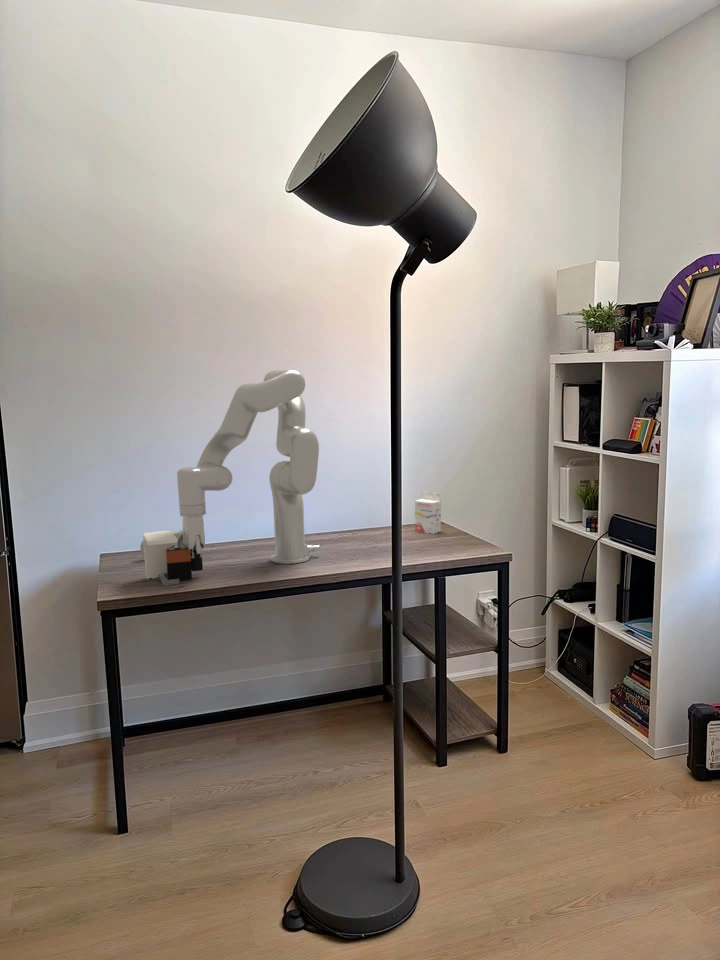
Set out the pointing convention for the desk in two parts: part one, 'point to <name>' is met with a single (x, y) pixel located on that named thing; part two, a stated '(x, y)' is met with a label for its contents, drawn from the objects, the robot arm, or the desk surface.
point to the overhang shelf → (158, 555)
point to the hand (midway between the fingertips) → (196, 570)
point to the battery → (179, 563)
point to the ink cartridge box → (428, 513)
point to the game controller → (176, 545)
